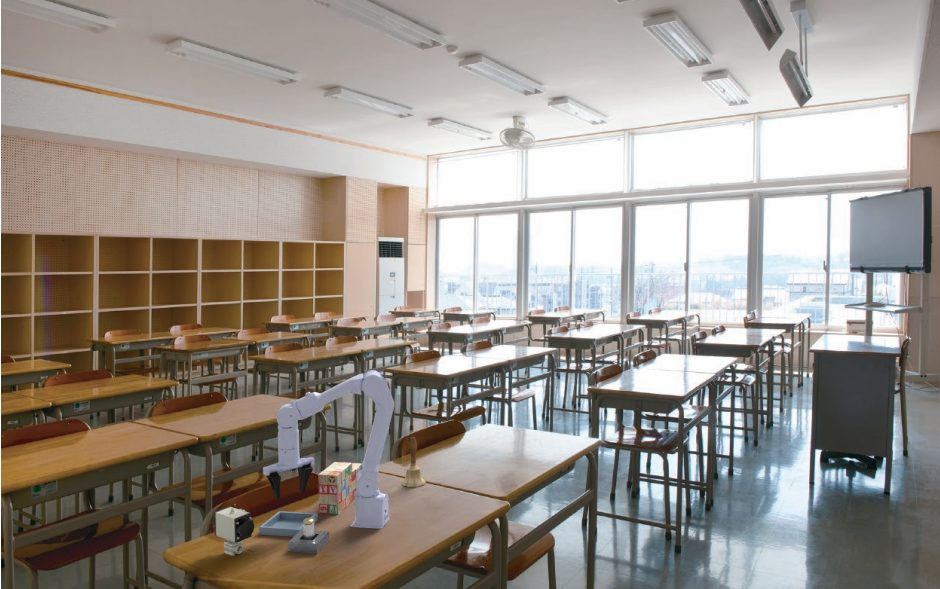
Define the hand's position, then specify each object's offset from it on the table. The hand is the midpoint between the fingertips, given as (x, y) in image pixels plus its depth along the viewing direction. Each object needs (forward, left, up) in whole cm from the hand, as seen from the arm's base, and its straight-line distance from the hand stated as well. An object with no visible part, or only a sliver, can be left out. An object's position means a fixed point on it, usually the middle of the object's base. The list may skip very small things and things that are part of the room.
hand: (290, 494), depth 185 cm
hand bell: (-24, -44, -10) cm, 51 cm away
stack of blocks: (-6, -24, -11) cm, 27 cm away
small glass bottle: (-10, +10, -10) cm, 17 cm away
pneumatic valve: (+8, +16, -10) cm, 21 cm away
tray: (+1, -1, -10) cm, 10 cm away
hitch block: (-10, +10, -10) cm, 18 cm away
